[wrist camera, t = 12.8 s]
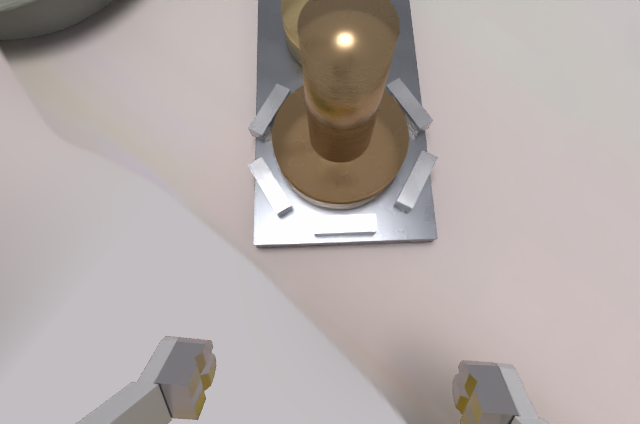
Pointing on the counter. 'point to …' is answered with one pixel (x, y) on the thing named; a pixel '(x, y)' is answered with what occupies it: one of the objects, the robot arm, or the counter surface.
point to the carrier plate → (307, 218)
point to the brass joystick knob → (342, 106)
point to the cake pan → (43, 16)
